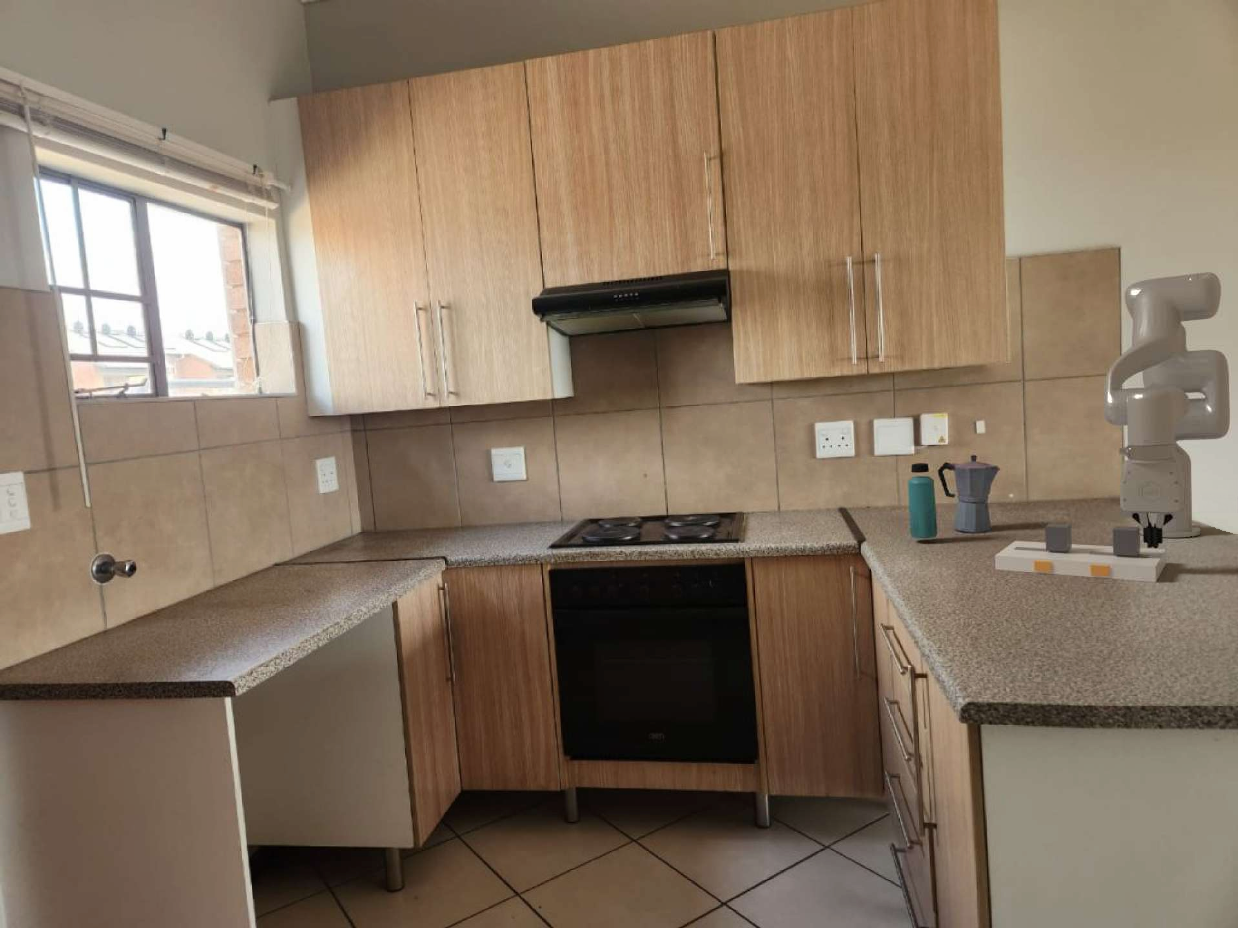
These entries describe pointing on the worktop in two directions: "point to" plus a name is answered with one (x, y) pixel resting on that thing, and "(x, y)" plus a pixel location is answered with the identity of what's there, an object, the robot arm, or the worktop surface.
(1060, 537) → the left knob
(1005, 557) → the switch panel
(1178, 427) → the robot arm
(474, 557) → the worktop surface
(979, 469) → the moka pot
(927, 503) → the beverage bottle
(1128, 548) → the right knob
